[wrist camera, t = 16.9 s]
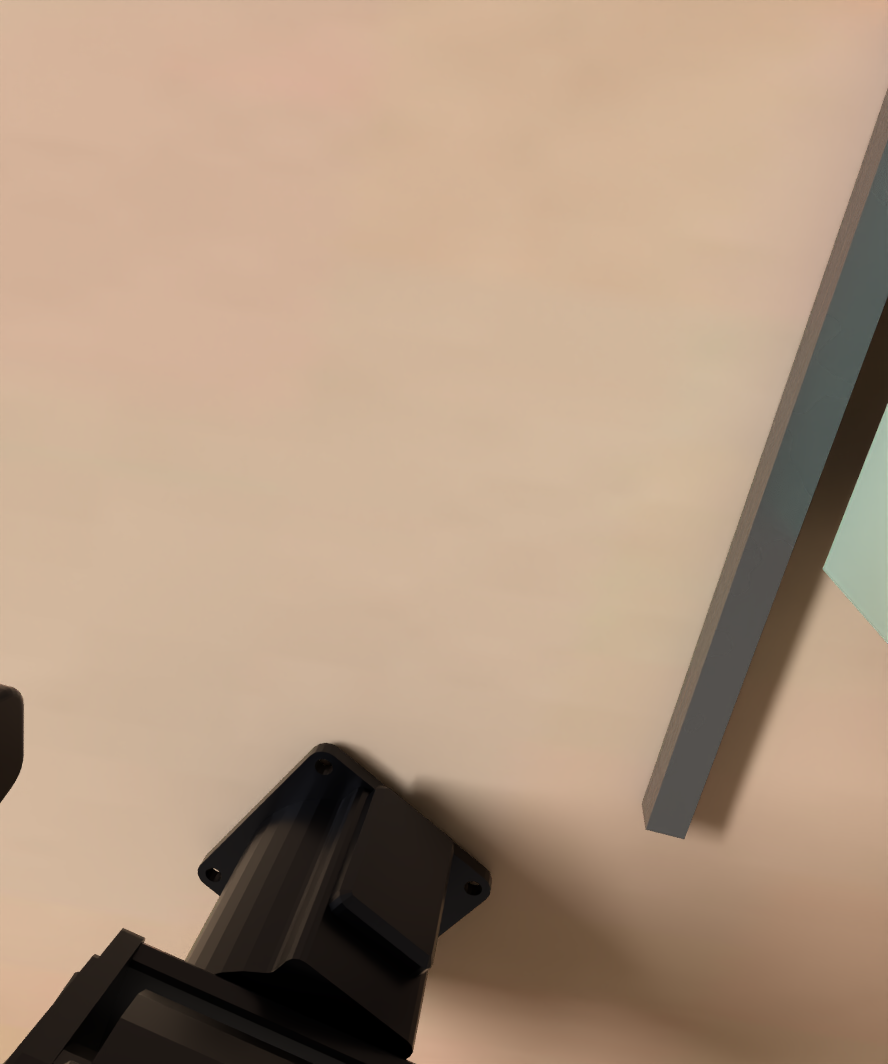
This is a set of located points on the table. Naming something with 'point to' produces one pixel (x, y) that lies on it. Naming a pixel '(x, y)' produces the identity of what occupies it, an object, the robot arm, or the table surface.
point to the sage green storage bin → (866, 538)
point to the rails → (779, 492)
